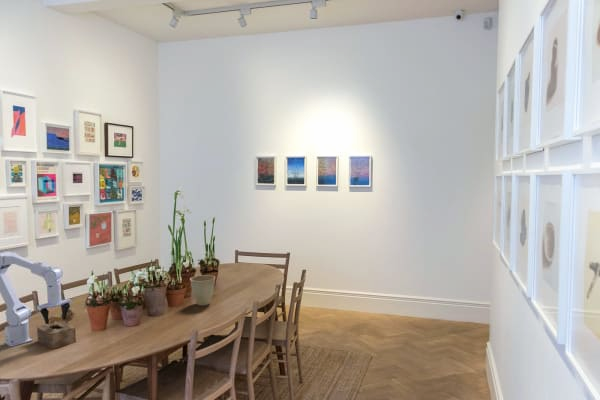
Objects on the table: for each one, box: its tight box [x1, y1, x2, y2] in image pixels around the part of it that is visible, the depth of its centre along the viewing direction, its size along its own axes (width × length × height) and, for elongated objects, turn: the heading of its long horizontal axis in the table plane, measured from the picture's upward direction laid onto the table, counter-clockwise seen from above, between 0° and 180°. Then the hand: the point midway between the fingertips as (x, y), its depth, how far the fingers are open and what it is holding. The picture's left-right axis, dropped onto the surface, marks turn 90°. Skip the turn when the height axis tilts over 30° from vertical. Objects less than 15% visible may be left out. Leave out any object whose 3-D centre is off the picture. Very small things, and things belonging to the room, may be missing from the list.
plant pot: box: [189, 274, 216, 306], centre depth 268 cm, size 15×15×16 cm
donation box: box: [36, 321, 77, 350], centre depth 211 cm, size 11×16×7 cm
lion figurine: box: [48, 308, 77, 324], centre depth 231 cm, size 15×5×9 cm, turn 120°
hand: (55, 321), depth 211 cm, fingers open, 7 cm apart
